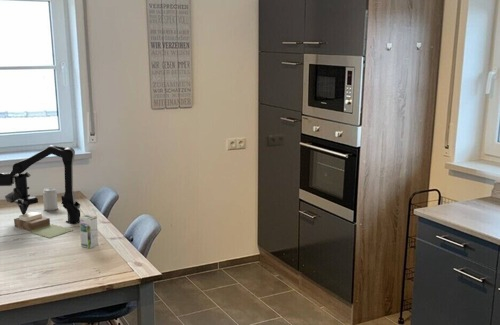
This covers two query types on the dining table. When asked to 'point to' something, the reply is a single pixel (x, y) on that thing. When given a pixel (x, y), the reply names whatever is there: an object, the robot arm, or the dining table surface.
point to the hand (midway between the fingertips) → (23, 214)
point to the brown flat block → (32, 223)
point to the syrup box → (88, 231)
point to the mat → (50, 231)
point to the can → (50, 199)
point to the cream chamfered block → (30, 216)
